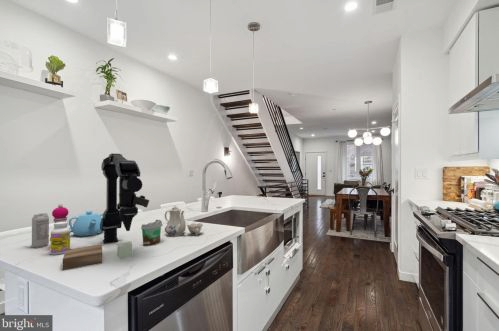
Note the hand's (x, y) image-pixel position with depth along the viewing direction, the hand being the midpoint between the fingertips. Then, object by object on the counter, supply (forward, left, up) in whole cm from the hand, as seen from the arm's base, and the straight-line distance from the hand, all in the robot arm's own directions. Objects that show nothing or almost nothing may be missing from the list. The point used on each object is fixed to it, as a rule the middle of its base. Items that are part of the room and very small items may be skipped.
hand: (126, 228), depth 100 cm
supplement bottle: (-20, -24, -11) cm, 33 cm away
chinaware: (-23, +29, -12) cm, 39 cm away
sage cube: (0, -1, -11) cm, 11 cm away
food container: (-12, +13, -11) cm, 21 cm away
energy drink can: (-36, -33, -11) cm, 50 cm away
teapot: (-48, -14, -11) cm, 51 cm away
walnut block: (-2, -15, -11) cm, 18 cm away
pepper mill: (-29, -25, -11) cm, 40 cm away
